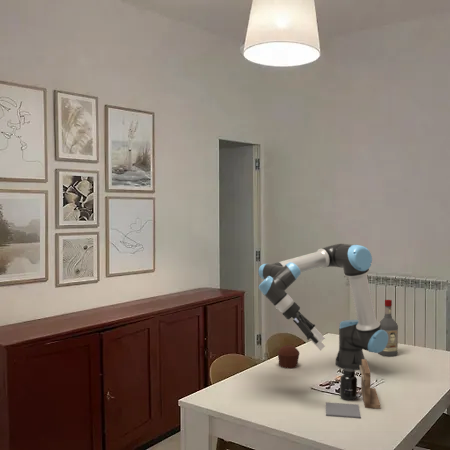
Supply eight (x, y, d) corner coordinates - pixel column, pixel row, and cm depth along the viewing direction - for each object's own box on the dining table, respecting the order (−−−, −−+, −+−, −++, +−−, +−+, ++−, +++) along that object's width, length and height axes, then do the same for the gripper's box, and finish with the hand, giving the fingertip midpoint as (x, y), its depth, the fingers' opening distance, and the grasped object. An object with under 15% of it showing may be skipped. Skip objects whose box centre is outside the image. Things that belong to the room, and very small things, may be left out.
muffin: (285, 361, 279) (285, 342, 279) (303, 365, 272) (303, 345, 272) (272, 366, 270) (272, 346, 270) (291, 370, 263) (291, 350, 263)
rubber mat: (326, 415, 206) (326, 414, 206) (325, 403, 219) (325, 402, 219) (360, 418, 204) (360, 416, 204) (358, 405, 216) (358, 404, 216)
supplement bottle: (347, 401, 221) (347, 373, 221) (336, 396, 227) (337, 368, 227) (360, 399, 224) (360, 370, 224) (349, 394, 230) (349, 366, 230)
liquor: (375, 352, 297) (376, 299, 296) (389, 351, 299) (390, 298, 298) (385, 357, 288) (386, 301, 287) (399, 355, 291) (400, 301, 290)
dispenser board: (362, 407, 215) (362, 372, 214) (358, 390, 235) (359, 359, 234) (380, 408, 214) (380, 374, 213) (375, 391, 233) (375, 360, 233)
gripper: (283, 308, 242) (316, 342, 239) (279, 318, 217) (316, 357, 215) (295, 296, 241) (328, 331, 238) (292, 306, 216) (329, 345, 214)
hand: (322, 344), depth 227 cm, fingers open, 13 cm apart
